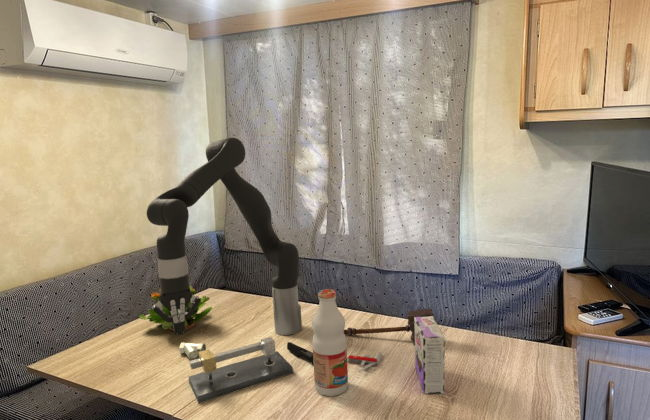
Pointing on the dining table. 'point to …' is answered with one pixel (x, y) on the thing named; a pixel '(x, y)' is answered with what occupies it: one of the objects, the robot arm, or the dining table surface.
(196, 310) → the potted flower
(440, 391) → the candy box
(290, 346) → the electric trimmer
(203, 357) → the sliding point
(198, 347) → the pipe fitting
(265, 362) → the bolt hole plate
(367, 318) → the dining table surface
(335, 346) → the fruit juice
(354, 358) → the swiss army knife
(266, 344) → the steel beam
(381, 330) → the hammer
